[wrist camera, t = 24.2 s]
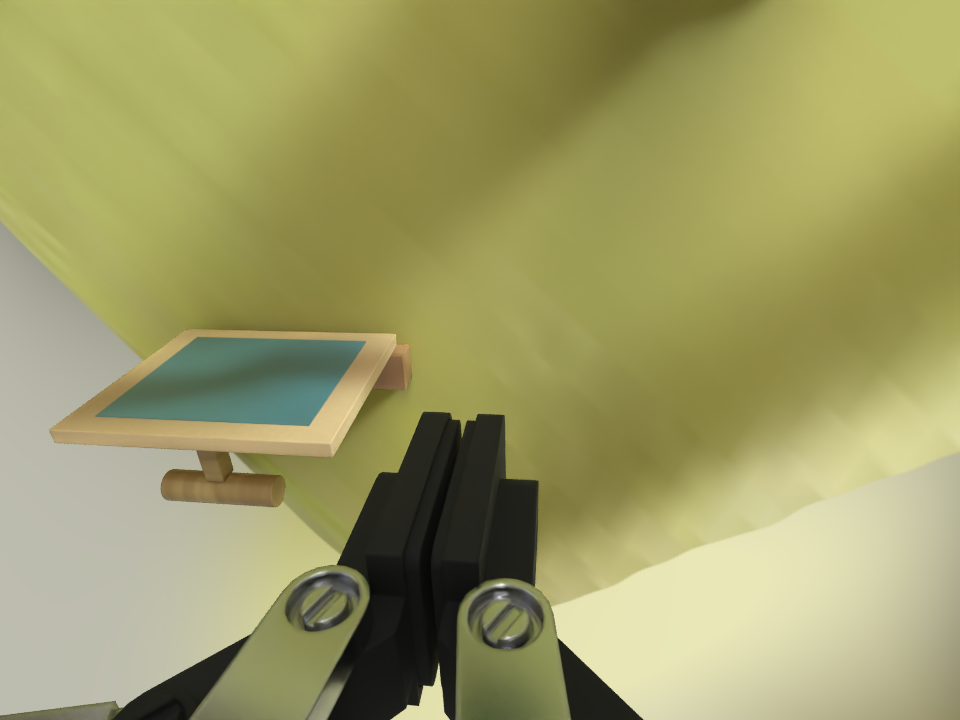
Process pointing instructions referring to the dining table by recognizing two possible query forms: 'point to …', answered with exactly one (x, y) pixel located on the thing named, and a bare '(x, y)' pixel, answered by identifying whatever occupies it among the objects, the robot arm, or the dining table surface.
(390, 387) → the frame foot
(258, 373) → the photo frame
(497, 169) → the dining table surface
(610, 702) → the robot arm
